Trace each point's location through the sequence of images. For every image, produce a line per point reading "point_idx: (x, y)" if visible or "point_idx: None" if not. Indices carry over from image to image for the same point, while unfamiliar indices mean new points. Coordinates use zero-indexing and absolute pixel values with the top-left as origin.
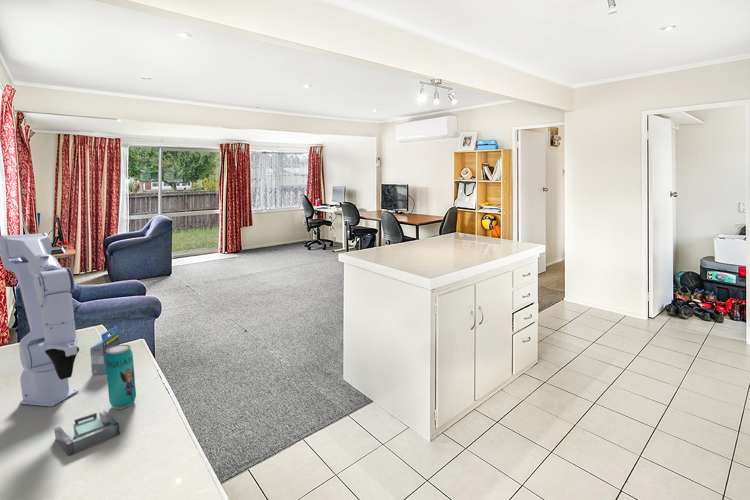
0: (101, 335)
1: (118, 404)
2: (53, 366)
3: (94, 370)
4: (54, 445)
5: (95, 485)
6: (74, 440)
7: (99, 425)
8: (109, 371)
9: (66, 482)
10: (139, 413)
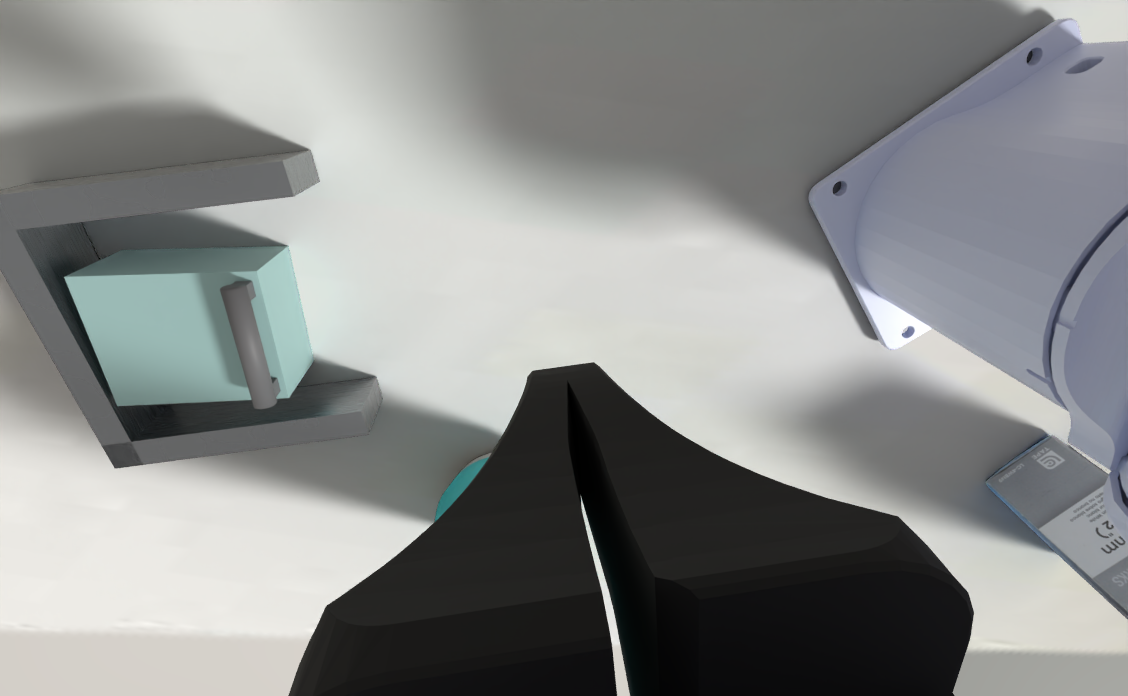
0: None
1: (446, 489)
2: (1094, 339)
3: (1057, 461)
4: (225, 132)
5: None
6: (8, 242)
7: (136, 388)
8: None
9: None
10: (343, 526)
